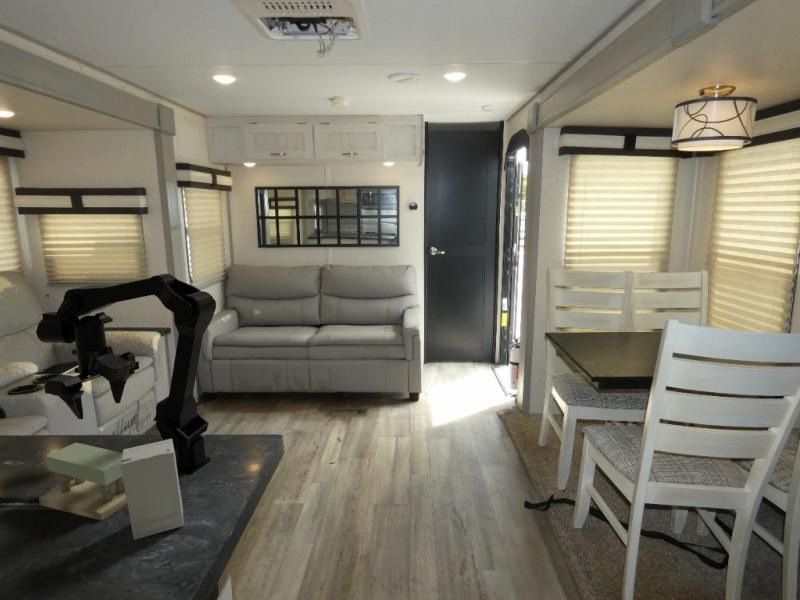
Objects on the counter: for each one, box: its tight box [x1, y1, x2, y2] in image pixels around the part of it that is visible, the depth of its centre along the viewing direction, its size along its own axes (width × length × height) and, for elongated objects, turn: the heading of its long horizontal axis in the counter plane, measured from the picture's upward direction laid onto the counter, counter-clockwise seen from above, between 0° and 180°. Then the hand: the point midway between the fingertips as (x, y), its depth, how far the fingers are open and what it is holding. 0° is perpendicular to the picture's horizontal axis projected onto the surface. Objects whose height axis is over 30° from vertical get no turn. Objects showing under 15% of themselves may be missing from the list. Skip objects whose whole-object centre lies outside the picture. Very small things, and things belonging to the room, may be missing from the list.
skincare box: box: [121, 439, 185, 541], centre depth 85 cm, size 8×6×15 cm
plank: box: [45, 442, 123, 486], centre depth 93 cm, size 16×6×3 cm, turn 69°
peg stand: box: [38, 473, 128, 521], centre depth 94 cm, size 16×10×6 cm, turn 71°
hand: (100, 410), depth 107 cm, fingers open, 9 cm apart
